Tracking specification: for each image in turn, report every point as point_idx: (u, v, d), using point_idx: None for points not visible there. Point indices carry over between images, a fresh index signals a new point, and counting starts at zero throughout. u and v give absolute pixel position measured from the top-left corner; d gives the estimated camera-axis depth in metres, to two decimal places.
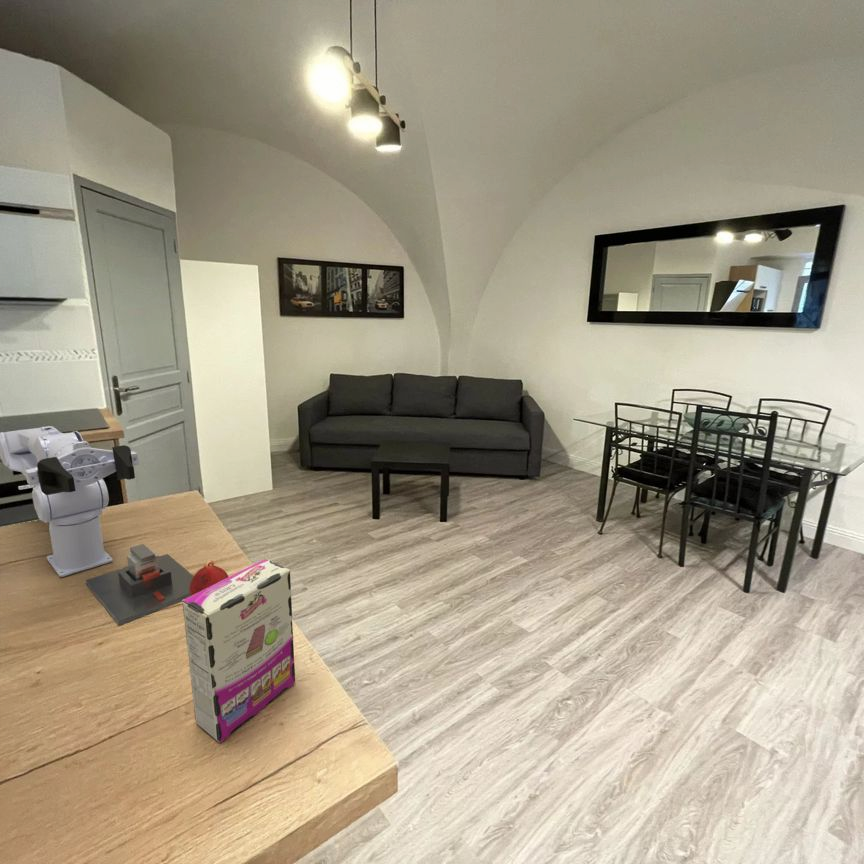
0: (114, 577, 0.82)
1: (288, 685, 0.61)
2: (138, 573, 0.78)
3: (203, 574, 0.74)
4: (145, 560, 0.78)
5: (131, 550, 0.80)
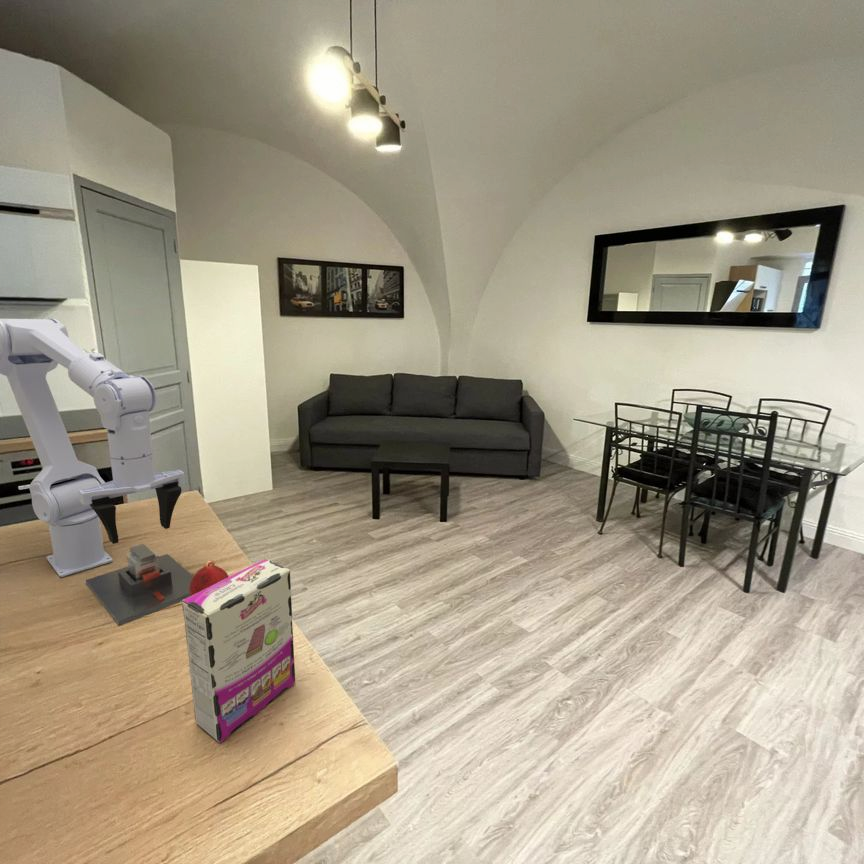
0: (114, 577, 0.82)
1: (288, 685, 0.61)
2: (138, 573, 0.78)
3: (203, 574, 0.74)
4: (145, 560, 0.78)
5: (131, 550, 0.80)
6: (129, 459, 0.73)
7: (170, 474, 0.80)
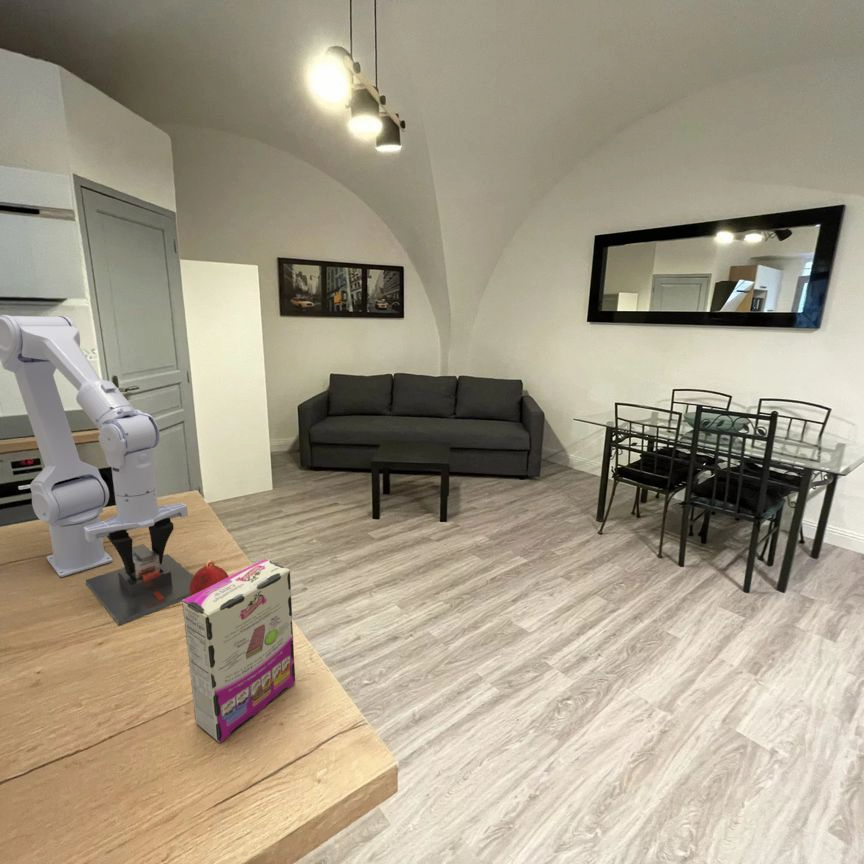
0: (114, 577, 0.82)
1: (288, 685, 0.61)
2: (138, 573, 0.78)
3: (203, 573, 0.74)
4: (145, 560, 0.78)
5: None
6: (133, 496, 0.74)
7: (173, 507, 0.82)
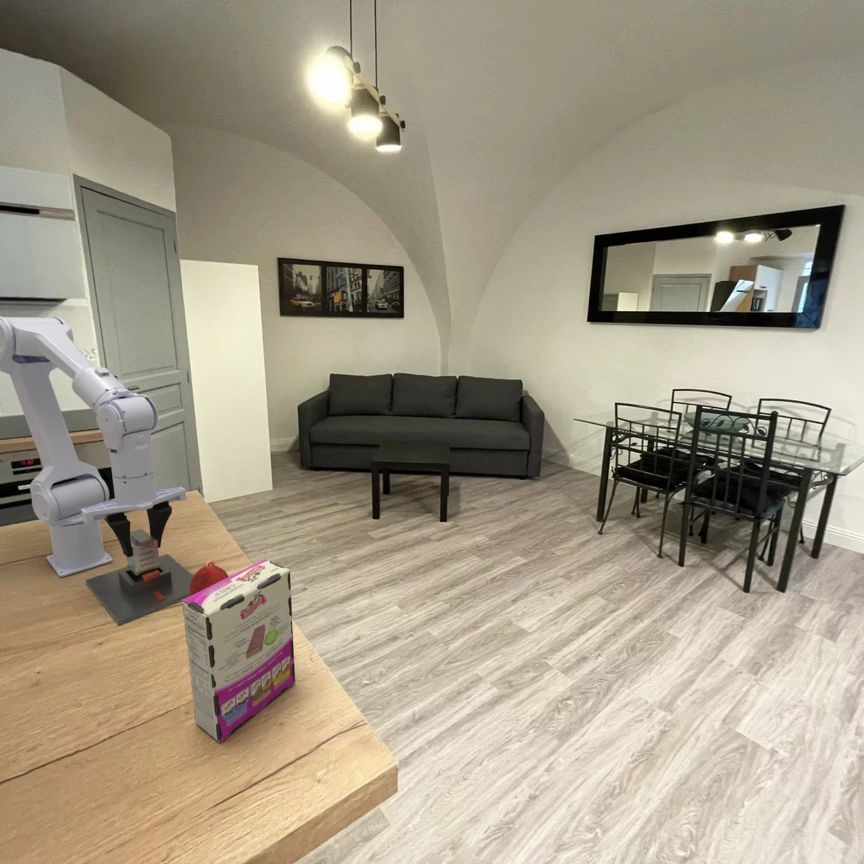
0: (114, 577, 0.82)
1: (288, 685, 0.61)
2: (136, 557, 0.77)
3: (203, 573, 0.74)
4: (143, 544, 0.77)
5: None
6: (131, 478, 0.74)
7: (171, 491, 0.81)
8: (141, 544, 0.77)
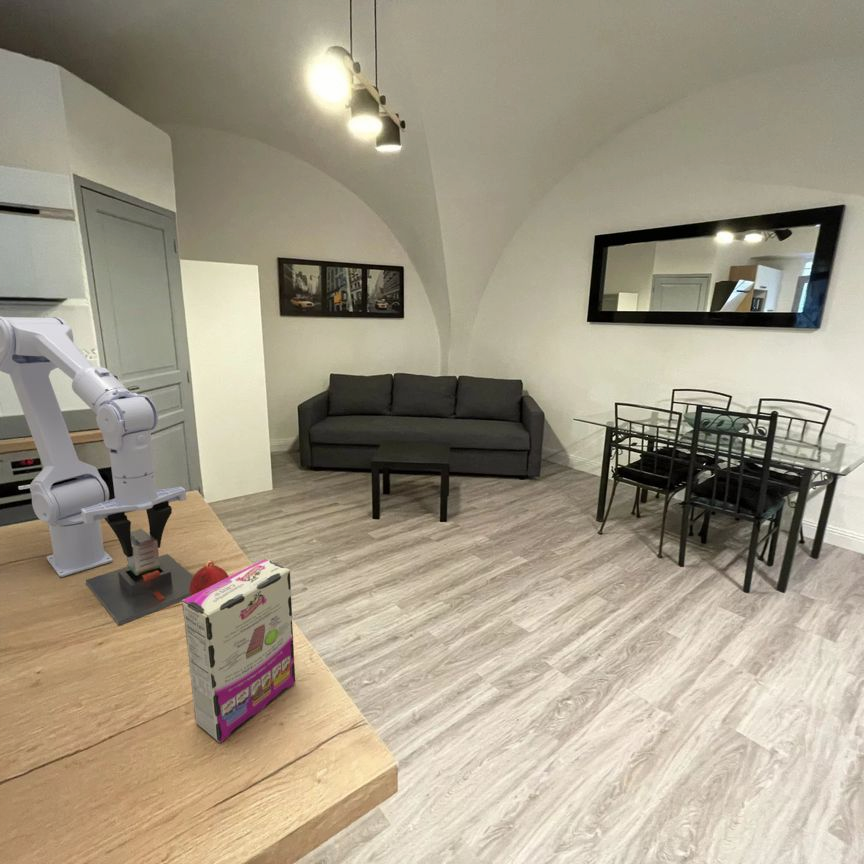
0: (114, 577, 0.82)
1: (288, 685, 0.61)
2: (136, 557, 0.77)
3: (203, 574, 0.74)
4: (143, 544, 0.77)
5: None
6: (131, 478, 0.74)
7: (171, 491, 0.81)
8: (141, 544, 0.77)
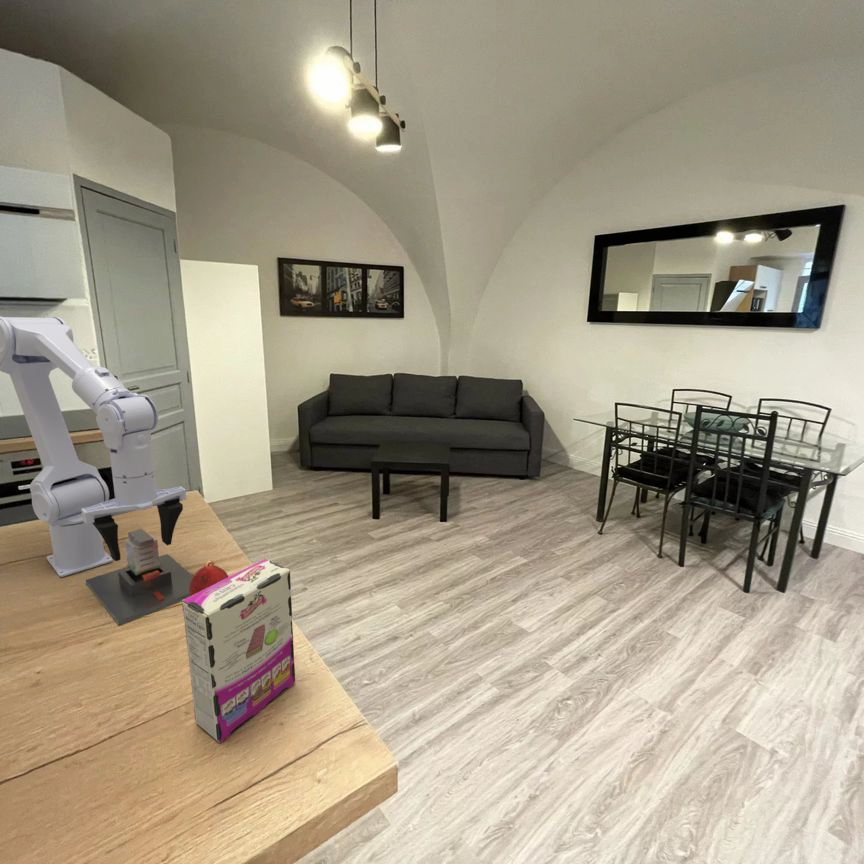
0: (114, 577, 0.82)
1: (288, 685, 0.61)
2: (136, 557, 0.77)
3: (203, 574, 0.74)
4: (143, 544, 0.77)
5: (129, 534, 0.79)
6: (131, 478, 0.74)
7: (171, 491, 0.81)
8: (141, 544, 0.77)
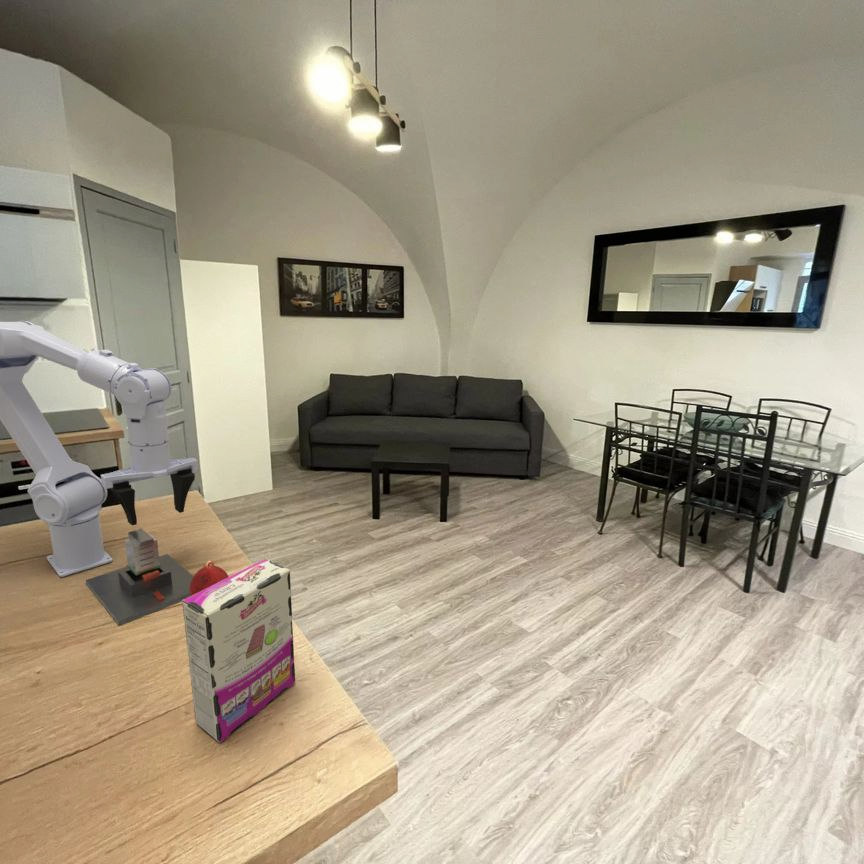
0: (114, 577, 0.82)
1: (288, 685, 0.61)
2: (136, 557, 0.77)
3: (203, 574, 0.74)
4: (143, 544, 0.77)
5: (129, 534, 0.79)
6: (147, 446, 0.78)
7: (184, 461, 0.86)
8: (141, 544, 0.77)
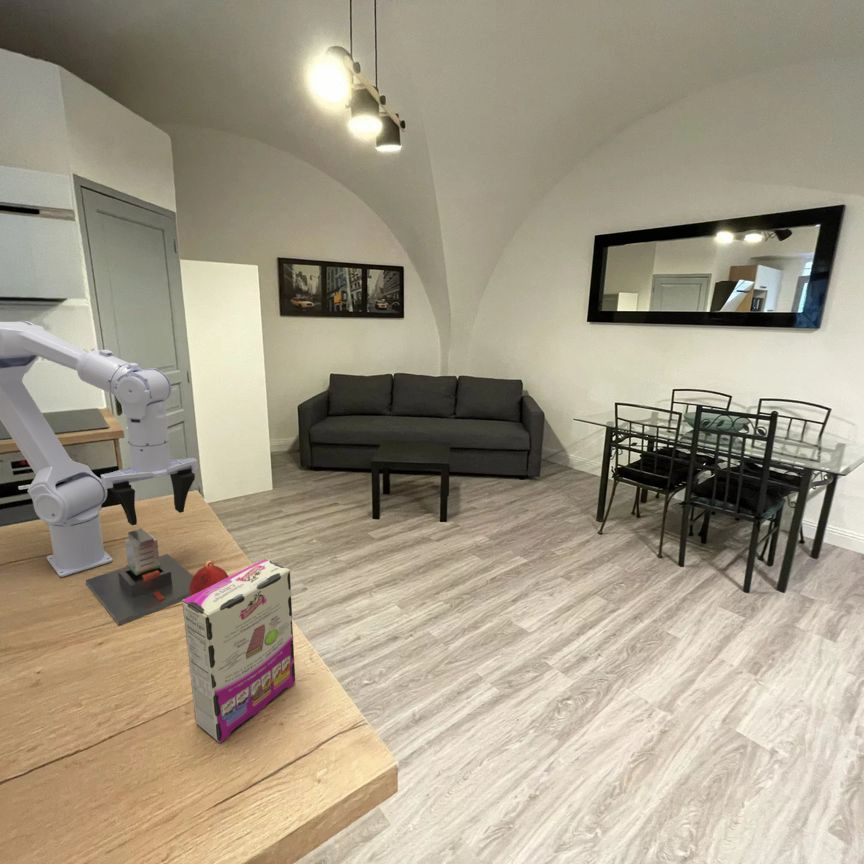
0: (114, 577, 0.82)
1: (288, 685, 0.61)
2: (136, 557, 0.77)
3: (203, 574, 0.74)
4: (143, 544, 0.77)
5: (129, 534, 0.79)
6: (147, 446, 0.78)
7: (184, 461, 0.86)
8: (141, 544, 0.77)
